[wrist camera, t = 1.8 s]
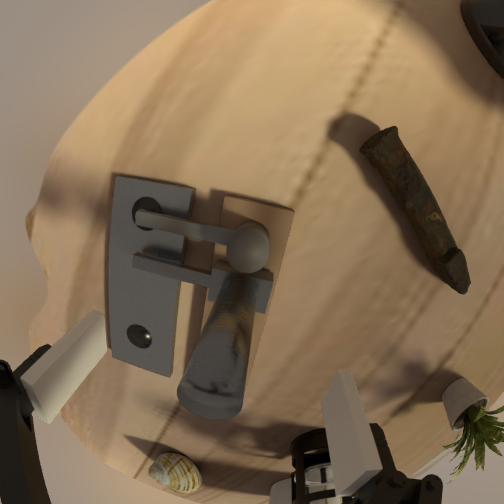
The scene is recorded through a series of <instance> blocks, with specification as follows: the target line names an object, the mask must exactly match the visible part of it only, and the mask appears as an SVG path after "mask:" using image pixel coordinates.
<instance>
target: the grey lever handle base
mask: <svg viewBox="0 0 504 504" xmlns="http://www.w3.org/2000/svg"><path fill="white" fill-rule="evenodd" d="M294 213H295V212H294V210H292V209H288V208H284V207H279V206H275V205H271V204H267V203H262V202H258V201H253V200H249V199H244V198H240V197H235V196H230V195H226V196H225V197H224V202H223V207H222V212H221V217H220V222H219V226H214V225H210V224H205V223H201V222H196V221H192V220H187V219H182V218H178V217H173V216H168V215H164V214H159V213H154V212H150V211H146V210H144V209H139V210H138V211H137V212H136V214H135V218H136V222H135V225H139V226H144V227H148V228H152V229H157V230H161V231H165V232H170V233H174V234H178V235H183V236H187V237H191V238H196V239H200V240H204V241H209V242H213V243H215V249H214V254H213V260H212V265H211V271H212V268H213V266H214V265H215V263H216V262H217V260H222V261H226V262H229V263H230V265H231V266H232V267H233V268H234V269H236V270H238V271H240V272H243V273H253V272H256V271H258V270H265V271H269V272H274V282H273V286H272V290H271V293H270V297H269V301H268V304H267V308H266V312H265V314H263V313H258V312H255V317H254V325H253V332H252V340H251V347H250V355H249V362H248V369H247V376H246V384H245V388H246V385H247V382H248V379H249V375H250V372H251V369H252V365H253V362H254V359H255V355H256V352H257V349H258V345H259V342H260V339H261V335H262V332H263V328H264V325H265V321H266V318H267V314H268V311H269V307H270V304H271V300H272V296H273V293H274V289H275V285H276V282H277V278H278V274H279V271H280V267H281V263H282V259H283V256H284V252H285V248H286V244H287V240H288V236H289V233H290V229H291V225H292V221H293V217H294ZM208 291H209V288H208V289H207V295H206V301H205V307H204V313H203V319H202V326H201V332H202V330H203V328H204V325H205V323H206V321H207V318H208V316H209V314H210V311H211V309H212V307H213V305H214V302H211V301H207V297H208ZM201 332H200V334H201Z"/></svg>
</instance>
